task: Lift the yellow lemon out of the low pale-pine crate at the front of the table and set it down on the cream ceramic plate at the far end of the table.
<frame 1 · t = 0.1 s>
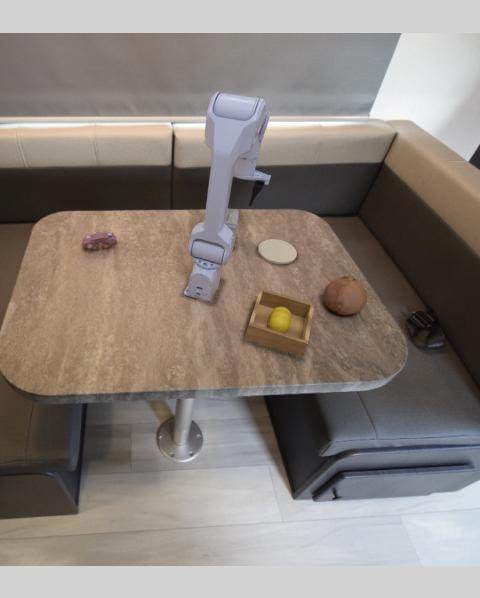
hand: (237, 201, 103), 10 cm above the table, tool pointing down, fingers open, 7 cm apart
lemon: (277, 326, 82), point 1 cm above the table, touching crate
crate: (276, 329, 82), on the table
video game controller: (100, 248, 103), on the table
onion: (337, 309, 88), on the table
plate: (276, 252, 103), on the table
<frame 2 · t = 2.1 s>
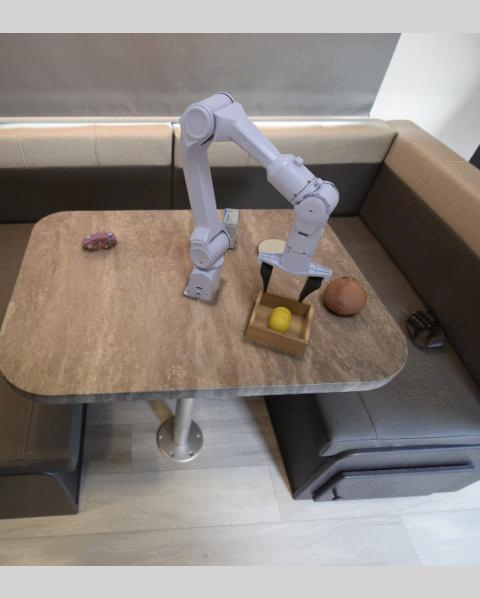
hand: (282, 294, 78), 9 cm above the table, tool pointing down, fingers open, 7 cm apart
nothing on the table moved.
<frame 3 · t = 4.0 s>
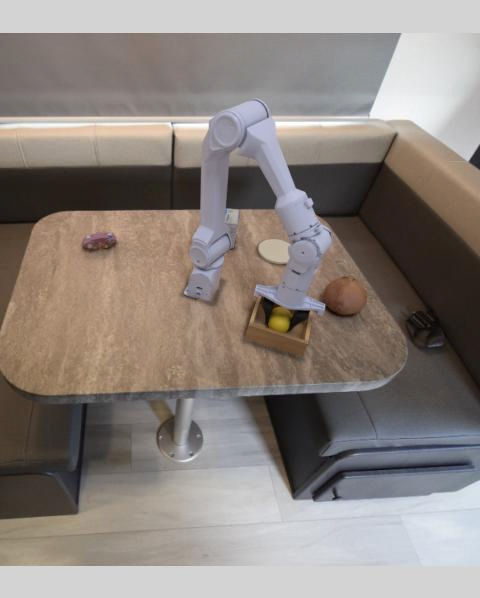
hand: (278, 324, 81), 2 cm above the table, tool pointing down, fingers closed on lemon, 4 cm apart
lemon: (277, 326, 82), point 1 cm above the table, touching crate, gripper
everything else where it was.
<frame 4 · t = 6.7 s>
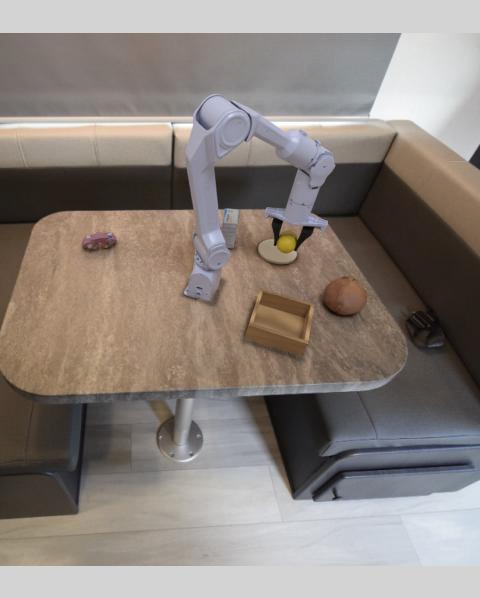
hand: (285, 246, 91), 8 cm above the table, tool pointing down, fingers closed on lemon, 4 cm apart
lemon: (284, 249, 91), point 8 cm above the table, touching gripper
everything else where it was.
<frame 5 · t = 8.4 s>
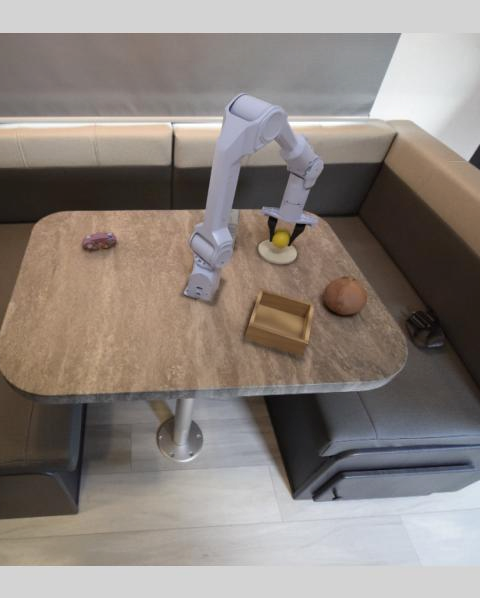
hand: (280, 242, 100), 4 cm above the table, tool pointing down, fingers closed on lemon, 4 cm apart
lemon: (279, 244, 101), point 3 cm above the table, touching gripper
everything else where it was.
when the fingers open (2 cm above the table, at t = 9.6 s): lemon stays where it is, resting on plate.
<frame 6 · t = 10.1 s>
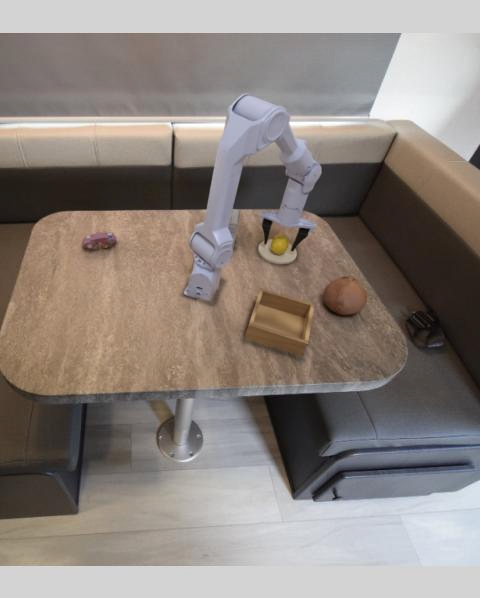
hand: (279, 245, 101), 2 cm above the table, tool pointing down, fingers open, 7 cm apart
lemon: (277, 250, 102), point 1 cm above the table, touching plate
everything else where it was.
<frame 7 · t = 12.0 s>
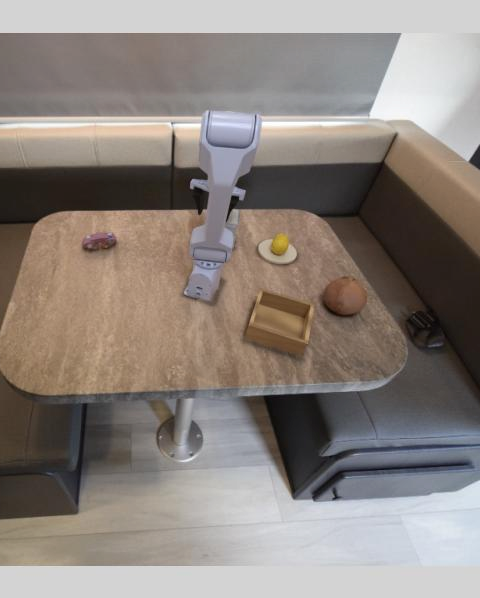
hand: (213, 216, 98), 9 cm above the table, tool pointing down, fingers open, 7 cm apart
nothing on the table moved.
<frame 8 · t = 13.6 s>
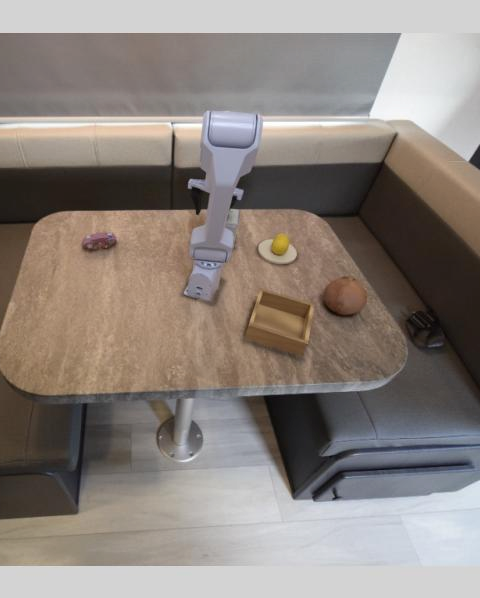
hand: (211, 216, 98), 9 cm above the table, tool pointing down, fingers open, 7 cm apart
nothing on the table moved.
at the end: lemon inside the target area on the plate (0.0 cm from its centre), point 0.8 cm above the plate's base; lemon touching plate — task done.
